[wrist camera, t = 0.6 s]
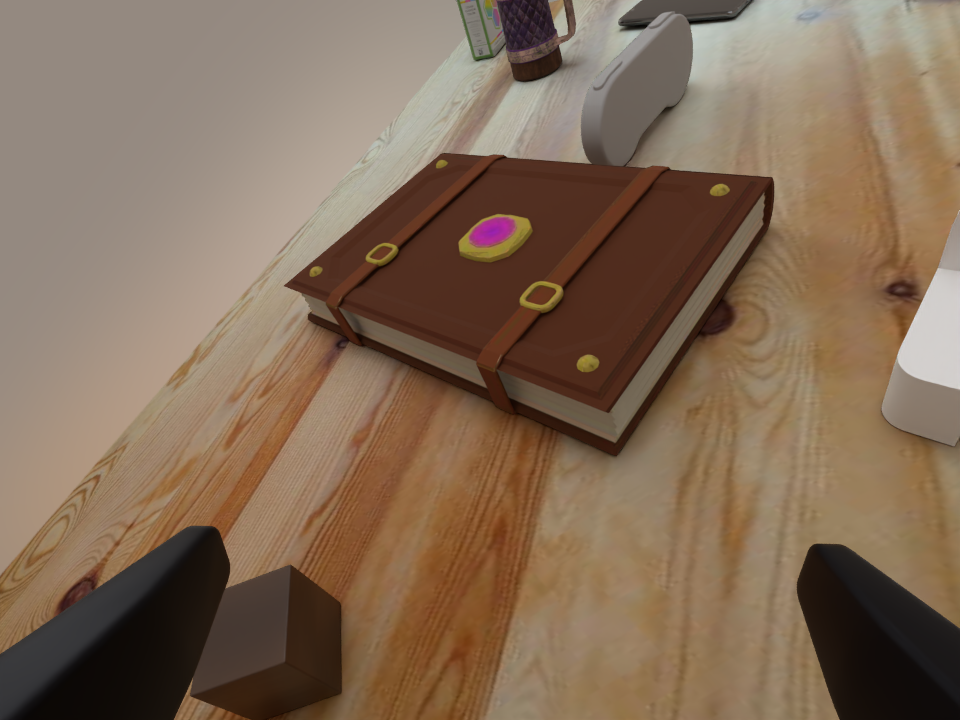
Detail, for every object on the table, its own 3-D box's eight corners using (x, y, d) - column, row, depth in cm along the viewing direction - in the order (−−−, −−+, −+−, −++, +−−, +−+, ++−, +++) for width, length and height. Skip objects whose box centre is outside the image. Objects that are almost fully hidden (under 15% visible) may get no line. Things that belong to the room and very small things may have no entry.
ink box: (495, 57, 85) (467, -44, 76) (473, 61, 87) (443, -36, 78) (510, 39, 89) (485, -59, 80) (488, 44, 91) (462, -52, 82)
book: (614, 461, 30) (600, 406, 27) (307, 323, 50) (276, 280, 46) (773, 222, 39) (777, 158, 36) (462, 184, 59) (445, 140, 55)
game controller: (674, 84, 59) (668, -1, 54) (695, 83, 58) (691, -5, 52) (587, 184, 51) (569, 95, 45) (609, 185, 50) (593, 94, 44)
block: (341, 693, 26) (285, 662, 23) (257, 722, 27) (189, 696, 23) (340, 602, 30) (291, 563, 26) (265, 629, 30) (206, 594, 26)
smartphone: (734, 11, 65) (615, 21, 75) (734, 21, 66) (616, 29, 76) (759, -14, 68) (642, -2, 78) (758, -4, 69) (642, 7, 79)
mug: (504, 84, 76) (477, -14, 67) (528, 61, 79) (505, -35, 71) (570, 77, 70) (550, -31, 62) (593, 53, 73) (576, -53, 65)
